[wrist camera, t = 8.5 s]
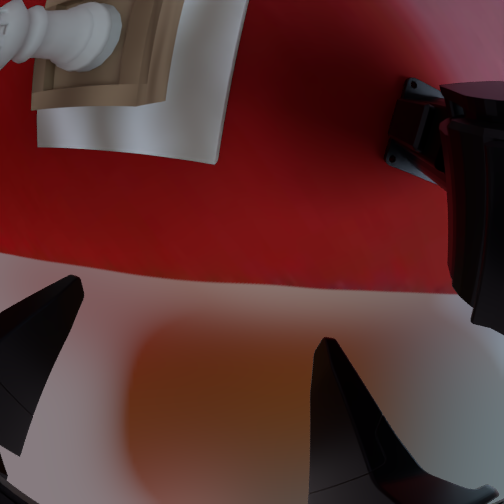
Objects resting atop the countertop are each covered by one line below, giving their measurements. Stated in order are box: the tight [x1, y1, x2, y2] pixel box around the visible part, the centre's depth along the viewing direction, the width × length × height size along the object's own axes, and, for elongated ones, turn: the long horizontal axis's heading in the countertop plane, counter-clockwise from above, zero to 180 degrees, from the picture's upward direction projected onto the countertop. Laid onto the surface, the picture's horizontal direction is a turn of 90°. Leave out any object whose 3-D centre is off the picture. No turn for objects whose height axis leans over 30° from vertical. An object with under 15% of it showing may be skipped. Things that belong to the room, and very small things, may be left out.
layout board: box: [31, 0, 249, 165], centre depth 11 cm, size 16×16×5 cm
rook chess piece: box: [0, 0, 122, 72], centre depth 7 cm, size 4×4×8 cm
